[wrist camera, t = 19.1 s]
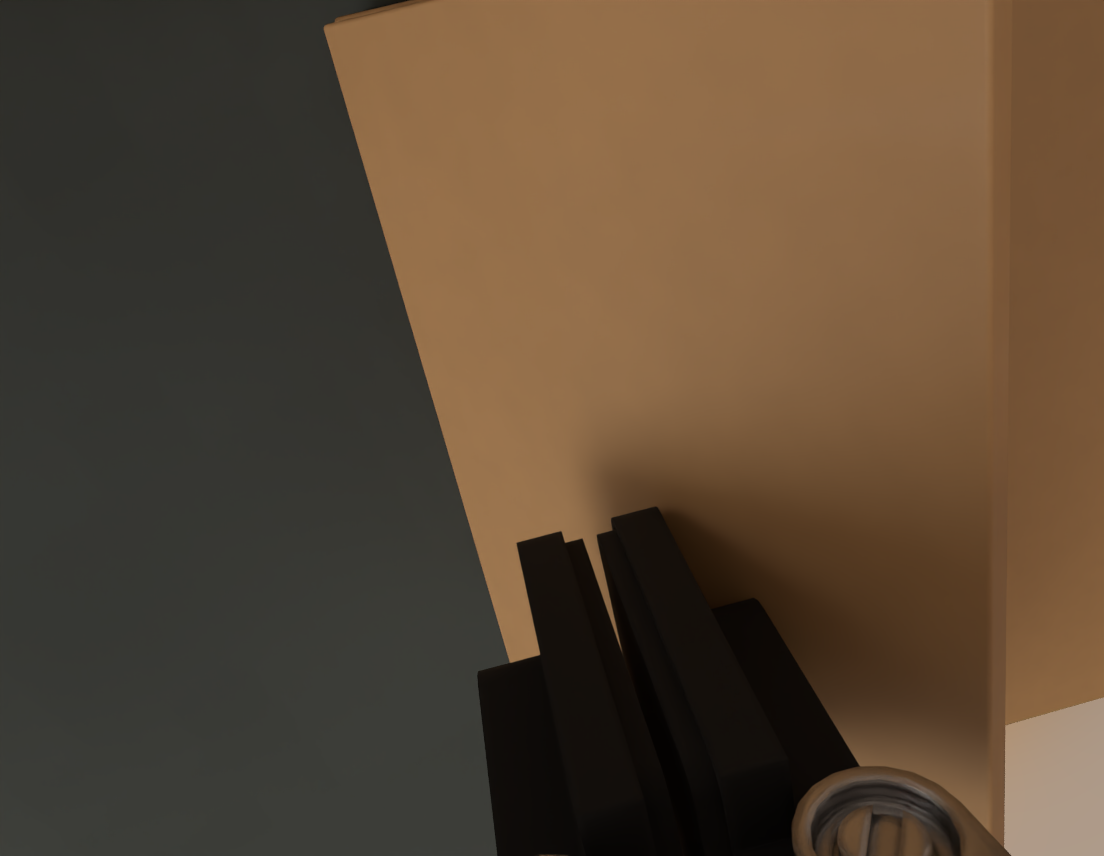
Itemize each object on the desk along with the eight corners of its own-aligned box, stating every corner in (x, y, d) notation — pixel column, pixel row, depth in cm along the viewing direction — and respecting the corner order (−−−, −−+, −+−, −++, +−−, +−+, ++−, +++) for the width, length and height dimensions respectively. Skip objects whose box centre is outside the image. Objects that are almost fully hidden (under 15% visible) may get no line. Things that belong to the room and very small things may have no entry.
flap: (579, 835, 16) (564, 851, 16) (348, 19, 11) (321, 25, 10) (1001, 1100, 12) (990, 1128, 11) (1017, -141, 6) (992, -136, 5)
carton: (513, 579, 24) (571, 852, 16) (357, 16, 18) (329, 18, 10) (1043, 437, 25) (1341, 632, 17) (1060, -149, 19) (1531, -263, 11)
